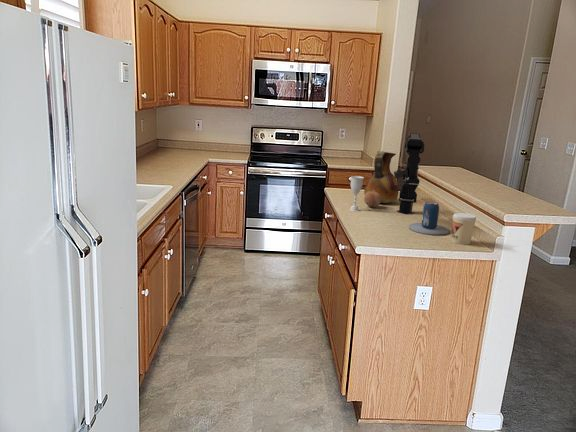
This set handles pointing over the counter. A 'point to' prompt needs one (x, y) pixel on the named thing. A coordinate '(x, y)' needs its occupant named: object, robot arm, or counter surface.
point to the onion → (372, 198)
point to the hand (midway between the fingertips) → (408, 196)
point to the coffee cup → (462, 228)
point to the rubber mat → (437, 231)
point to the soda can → (430, 215)
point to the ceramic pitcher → (383, 178)
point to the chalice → (356, 189)
